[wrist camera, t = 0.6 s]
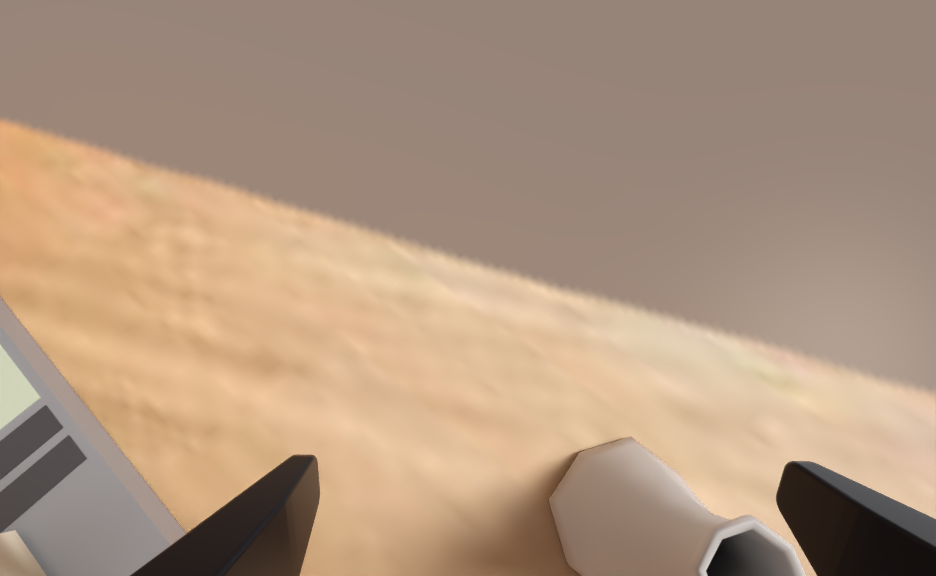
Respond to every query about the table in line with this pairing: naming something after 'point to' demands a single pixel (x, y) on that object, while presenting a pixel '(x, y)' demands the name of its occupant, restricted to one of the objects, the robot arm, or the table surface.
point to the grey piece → (68, 473)
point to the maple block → (17, 557)
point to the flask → (654, 522)
